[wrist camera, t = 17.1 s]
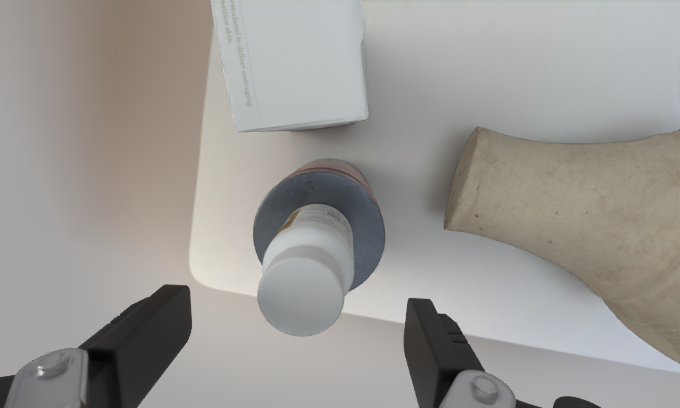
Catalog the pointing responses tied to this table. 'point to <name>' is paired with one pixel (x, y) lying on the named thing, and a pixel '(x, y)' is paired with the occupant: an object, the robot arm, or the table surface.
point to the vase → (585, 217)
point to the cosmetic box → (292, 63)
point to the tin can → (333, 190)
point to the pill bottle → (307, 271)
